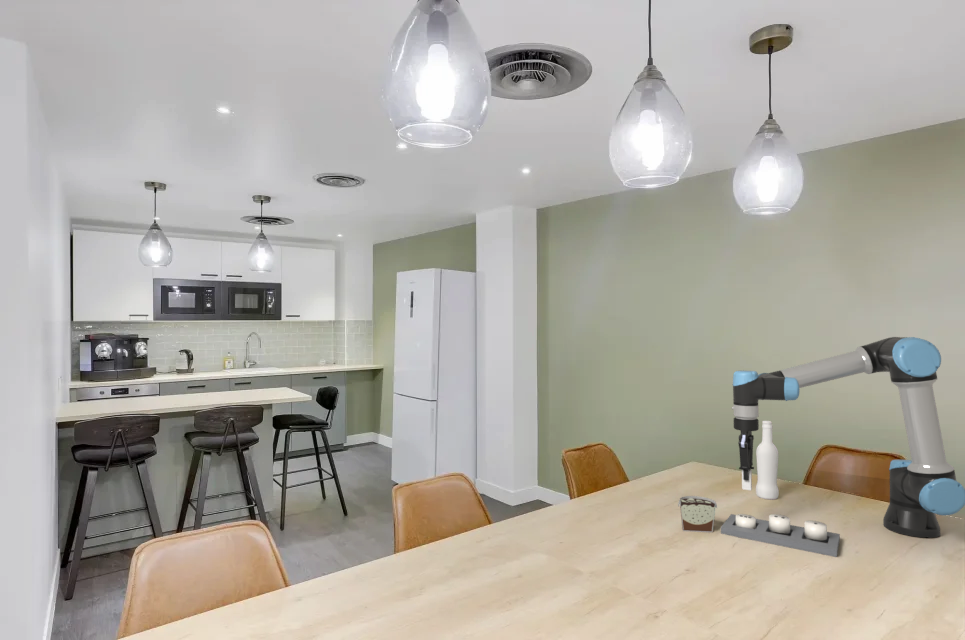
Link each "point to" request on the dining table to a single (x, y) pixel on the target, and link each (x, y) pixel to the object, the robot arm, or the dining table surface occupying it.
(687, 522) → the food container
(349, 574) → the dining table surface
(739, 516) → the three dot button
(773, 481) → the bottle
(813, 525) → the one dot button
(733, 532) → the button board
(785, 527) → the two dot button
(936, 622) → the dining table surface
